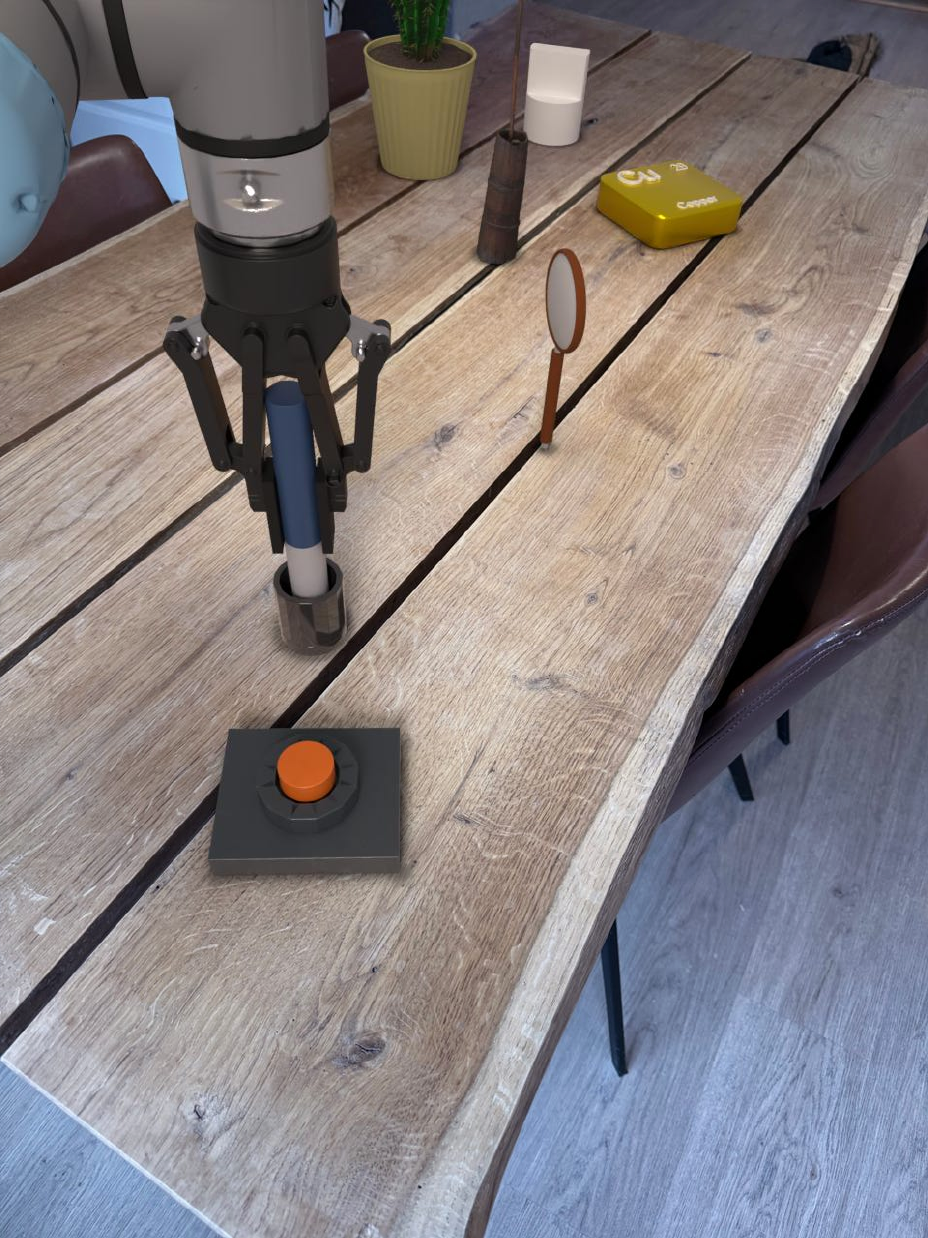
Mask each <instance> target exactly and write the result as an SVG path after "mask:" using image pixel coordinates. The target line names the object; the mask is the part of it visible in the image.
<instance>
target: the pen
mask: <svg viewBox="0 0 928 1238" xmlns="http://www.w3.org/2000/svg"><path fill="white" fill-rule="evenodd" d="M264 402H265V409H266V424H267V429H268V437H269V444H270V447H271V449H270V451H271V457H273V464H274V471H275V478H276V485H277V492H278V499H279V506H280V513H281V520H282V527H283V534H284V541H285V544H284V549H285V554H286V555H285V556H286V561H287V562H288V569H289V576H290V583H291V590H292V596H293V597H295V598H299V599H313V598H317V597H320V596H323V595H325V594H326V593H328V592H329V586H328V576H327V566H326V557H327V556H326V554H322V545H321V535H320V525H319V516H318V506H317V496H316V487H315V479H316V472H317V457H316V445H315V435H314V431H313V427H312V424H311V420H310V416H309V413H308V409H307V405H306V402H305V398H304V396H302V394H301V391H300V387H299V384H298V381H295V380H280V381H276V382H273V383H272V384H270V385H267V388H266V389H265V395H264Z"/></svg>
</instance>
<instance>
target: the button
mask: <svg viewBox="0 0 928 1238" xmlns="http://www.w3.org/2000/svg"><path fill="white" fill-rule="evenodd" d="M277 768H278V774H279V779H280V784H281V787H282V790H283V791H284V793H285V794H286V795H287V796H289V797H290V798H292V799H294V800H297V801H301V802H310V801H315V800H318V799H320V798H322V797H323V796H325V795H326V794H327V793H328V792H329V791H330V790H331V789H332V787H333V785H334V783H335V778H336V774H335V765H334V758H333V755H332V753H331V751H330V750H329V749H328V748H327V747H326V746H324V745H323V744H321V743H319V742H315V741H301V742H297V743H295V744H293V745H291V746H289V747H288V748H287V749H286V750H285V751H284V752H283V753H282V754H281V756H280V758H279V760H278V766H277Z"/></svg>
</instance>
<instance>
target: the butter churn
mask: <svg viewBox="0 0 928 1238" xmlns="http://www.w3.org/2000/svg"><path fill="white" fill-rule="evenodd" d="M523 6H524V0H518V1H517V13H516V23H515V24H516V27H515V43H514V59H513V75H512V76H513V77H512V88H511V101H510V105H511V106H510V116H509V128H507V129H506V128H501V129H499V130H497V132H496V135H495V139H494V145H493V152H492V158H491V164H490V171H489V175H488V177H487V187H486V192H485V193H486V194H485V200H484V205H483V212H482V215H481V216H482V217H481V222H480V226H479V227H480V228H479V232H478V238H477V245H476V253H477V257H478V259H479V260H481V261H483V262H486V263H488V264H493V265H494V264H495V265H503V264H504V263H507V262H510V261H512V260H514V259H516V257H517V250H518V240H519V232H520V231H519V230H520V227H521V224H522V223H521V211H522V205H523V196H524V195H523V194H524V187H525V183H526V182H525V179H526V171H527V162H528V161H527V160H528V153H529V152H528V149H529V148H528V147H529V144H530V143H529V140H528V137H527V133H526V132H525V131H523V130H518V129H515V121H516V114H515V112H516V111H517V110H516V100H517V89H518V85H517V84H518V73H519V72H518V71H519V61H520V59H519V58H520V50H521V32H522V20H523Z"/></svg>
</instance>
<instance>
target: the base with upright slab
mask: <svg viewBox="0 0 928 1238" xmlns="http://www.w3.org/2000/svg"><path fill="white" fill-rule="evenodd" d="M590 54H591V49H587V48H579V47H572V46H571V47H570V46H563V45H554V44H547V43H540V42H539V43H538V42H533V43H532V44H531V45H530V47H529V55H528V57H529V58H528V66H527V67H528V68H527V81H526V92H525V103H524V112H523V113H524V114H523V115H524V116H523V127H522V132H523V131H525V132H526V133H527V137H528V141H530V142H532V143H535V144H538V145H543V146H548V147H549V146H551V147H562V146H563V147H564V146H568V145H572V144H574V143H576V142H578V140H579V139H580V132H581V123H582V117H583V116H582V115H583V107H584V100H585V94H586V93H585V92H586V84H587V77H588V70H589V62H590V56H591V55H590Z"/></svg>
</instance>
